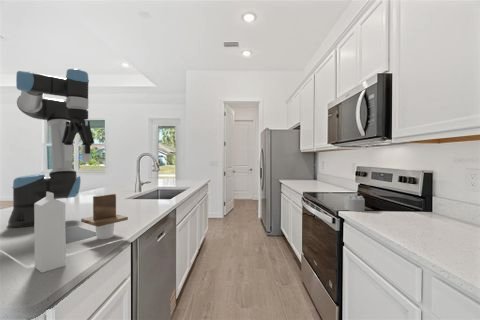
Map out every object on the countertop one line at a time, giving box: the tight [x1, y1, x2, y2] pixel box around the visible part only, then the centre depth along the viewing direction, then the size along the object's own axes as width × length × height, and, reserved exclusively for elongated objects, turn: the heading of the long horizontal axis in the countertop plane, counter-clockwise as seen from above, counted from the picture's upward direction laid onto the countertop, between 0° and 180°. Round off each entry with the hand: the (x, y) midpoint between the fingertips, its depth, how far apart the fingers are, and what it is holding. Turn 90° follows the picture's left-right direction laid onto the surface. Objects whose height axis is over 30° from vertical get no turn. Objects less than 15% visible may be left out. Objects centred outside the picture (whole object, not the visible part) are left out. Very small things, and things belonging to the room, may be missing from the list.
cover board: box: [80, 193, 129, 227], centre depth 100 cm, size 12×12×10 cm
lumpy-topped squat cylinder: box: [344, 194, 366, 213], centre depth 159 cm, size 10×13×9 cm
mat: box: [65, 226, 97, 245], centre depth 103 cm, size 20×14×1 cm
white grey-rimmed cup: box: [95, 223, 115, 240], centre depth 101 cm, size 7×7×7 cm
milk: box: [33, 192, 67, 273], centre depth 75 cm, size 6×6×22 cm
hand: (77, 161), depth 104 cm, fingers open, 13 cm apart
